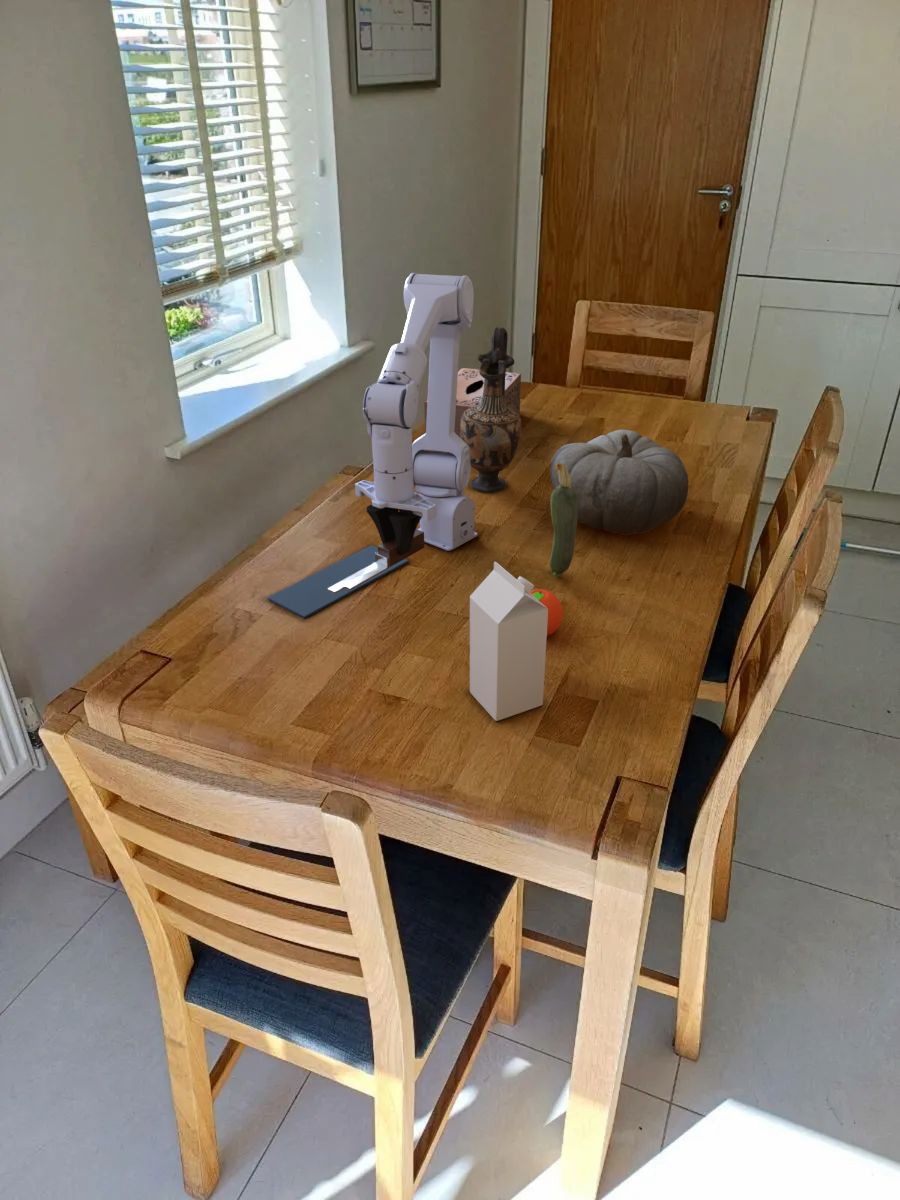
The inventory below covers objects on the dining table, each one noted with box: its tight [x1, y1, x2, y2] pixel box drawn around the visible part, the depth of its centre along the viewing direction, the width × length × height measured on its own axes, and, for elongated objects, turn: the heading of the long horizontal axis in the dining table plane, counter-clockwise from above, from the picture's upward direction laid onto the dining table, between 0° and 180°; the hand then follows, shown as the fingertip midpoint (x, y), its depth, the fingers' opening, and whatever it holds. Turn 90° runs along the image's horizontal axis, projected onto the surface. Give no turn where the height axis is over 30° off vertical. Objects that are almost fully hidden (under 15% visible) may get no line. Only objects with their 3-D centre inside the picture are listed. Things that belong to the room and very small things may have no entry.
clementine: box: [530, 588, 564, 637], centre depth 127 cm, size 8×7×7 cm
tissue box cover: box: [423, 367, 522, 438], centre depth 199 cm, size 26×14×10 cm, turn 161°
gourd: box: [549, 429, 689, 536], centre depth 157 cm, size 25×25×17 cm
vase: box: [460, 326, 522, 493], centre depth 167 cm, size 12×12×30 cm
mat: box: [267, 544, 409, 619], centre depth 143 cm, size 9×23×1 cm, turn 139°
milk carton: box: [469, 561, 548, 722], centre depth 111 cm, size 7×7×19 cm
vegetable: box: [549, 463, 578, 578], centre depth 137 cm, size 4×4×20 cm
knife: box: [327, 528, 425, 594], centre depth 131 cm, size 19×3×3 cm, turn 141°
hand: (397, 549), depth 134 cm, fingers closed on knife, 2 cm apart
